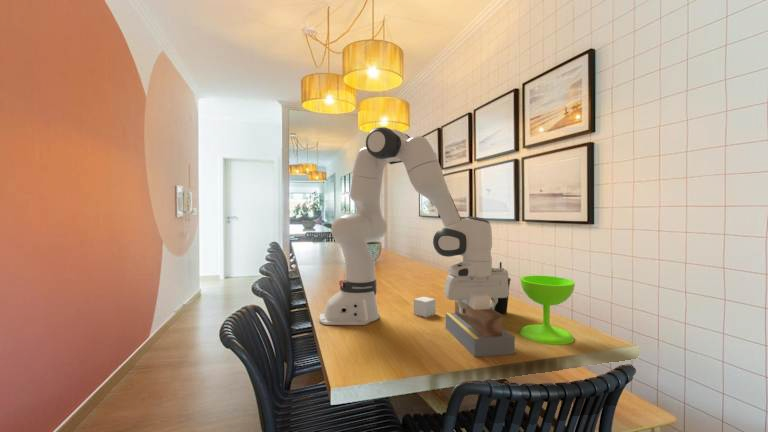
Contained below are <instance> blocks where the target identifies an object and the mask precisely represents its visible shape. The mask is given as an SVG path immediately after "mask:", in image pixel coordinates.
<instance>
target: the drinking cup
mask: <svg viewBox="0 0 768 432" xmlns="http://www.w3.org/2000/svg"><path fill="white" fill-rule="evenodd" d="M499 268H503V266H502V261H500V262H499ZM511 280H512V279H511V278H510V277H508V286H509V287H510V285H511ZM509 295H510V294H509ZM509 295H508V297H507V298H498V302H497V304H496V305H495V307H494V310H495V311H497V312H498V313H500V314H502V315H506V314H507V313H508V305H509V304H508V303H509Z"/></svg>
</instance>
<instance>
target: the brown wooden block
mask: <svg viewBox="0 0 768 432" xmlns="http://www.w3.org/2000/svg"><path fill="white" fill-rule="evenodd" d="M461 305H462V307H464V308H466V313H465V314H461V313H460V312H459V306H458V304H457V303H456V300H454V313H455V314H456V315H457V316H459V317H460V318H461V319H462V320H464V321H465V322H466V323H467V324H469V325H470V326H471V327H472V328H474V329H475V330H476V331H477V332H479V333H480V334H481V335H482V336H484V337H493V336H502V328H503V315H504V314H503V315H502V314H500V313H498V312H497V311H495V310H493V309H492V308H490V309H480V310H474V309H473V308H471V307H470V306H469V305H467V304H466V303H464V302H463V303H461Z"/></svg>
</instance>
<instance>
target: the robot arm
mask: <svg viewBox="0 0 768 432" xmlns="http://www.w3.org/2000/svg"><path fill="white" fill-rule="evenodd" d="M398 163H399V164H400V163H403V164H404V165H403V166H404V167H405V170H406V173H407V176H408V178H409V182H410V183H411V186H413V188H414V190H415V191H416V192H417V193H418V194H419V195H421V196H422V197H425V198H426V199H427V200H429V201H430V202H431V204H433V205H434V207H435V209H436V210H437V213H438V215H439V217H440V219H441V222H442V224H443V226H444V227H442V228H440V229H438V230H437V231H436V232H435V233H434V235H433V239H432V240H433V241H432V246H433V247H434V250H435V252H436V253H437V254H438V255H440V256H443V257H447V258H451V257H455V256H462V262H459V263H456V264H452V265H451V266H448V267H447V272H448V275H447V276H446V279H445V282H444V296H445V297H446V299H448V300H449V301H455V300H456V303H457V304H458V306H459V312H460V313H461V314H465V313H466V308H464V307H462V305H461V303H463V300H465V299H470V298H471V294H482V293H486V294H488V295H490V308H492V309H493V310H494V307H495V305H496V304H497V302H498V298H507V297H508V298H509V296H508V295H510V286H508V278H509V272H508V270H506V269H505V268H503V267H502V268H500V267H499V268H497V267H496V268H495V267H493V259H492V258H493V257H492V247H493V231H492V226H491V223H490V222H489V221H488V220H487V219H485V218H482V217H477V216H466V217H464V219H463V220H462V217H461V216H460V214H459V211H458V209H457V206H456V204H455V202H454V200H453V198H452V195H451V194H450V190H449V187H448V185H447V182H446V179H445V176H444V174H443V170H442V167H441V165H440V162H439V159H438V157H437V155H436V152H435V151H434V149H433V147H432V145H431V144H430V142H429V140H428V139H427V138H426V137H424V136H421V135H415V136H412V137H410V136H409V135H408V134H406V133H405V132H404V133H403V132H401V131H400V130H397V129H392V128H388V127H384V126H379V127H375V128H373V129H371V130H370V131H369V132H368V134H367V136H366V139H365V146H364V147H362V148H360V149H359V150H358V152H357V155H356V157H355V161H354V165H353V169H352V176H351V177H352V178H351V185H350V191H349V195H350V199H351V200H352V201H353V202H354V205H355V210H356V212H355V214H353V213H352V214H351V213H350V214H345V215H341V216H339V217H337V218H335V219H334V221H333V222H332V224H331V235H332V238H333V239H334V241H335V242H336V243H338V245H339V246H340V248H341V250H342V253H343V258H344V261H345V279H344V280H343V279H339V281H338V284H339V286H340V290H339V291H337V292H336V293H335V294H334V295H333V296H331V297H330V298H329V299H328V300H327V301H326V303H325V304H326V305H325V308H324V311H322V312H321V313H320V314H319V316H318V317H319V318H318V320H319V323H321V324H322V325H328V326H330V325H331V326H332V325H333V326H336V325H337V326H366V325H368V324H369V323H371V322H374V321H376V320H379V318H380V314H379V310H378V305H377V304H378V303H377V289H378V288H377V287H378V286H377V280H376V259H375V257H374V256H373V255H371V253H370V251H369V248H368V243H371V242H376V241H377V240H380V239H381V238H384V237H385V235H386V234H387V231H388V227H387V226H388V225H387V222H386V219H384V217H383V215H382V210H381V199H380V198H381V191H382V190H381V189H382V183H383V182H382V181H383V175H384V169H385V167H386V166H387V165H388V164H390V165H394V164H398Z"/></svg>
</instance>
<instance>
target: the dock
mask: <svg viewBox="0 0 768 432" xmlns="http://www.w3.org/2000/svg"><path fill="white" fill-rule="evenodd" d="M445 329H446V330H447V331H448V332H449V333H450V334H451V335H452V336H453V337H454V338H455V339H456V340H457V341H458V342H459V343H460V344H461V345H462V346H463V347H464V348H465V349H466V350H467V351H468V352H469V353H470V354H471V355H472V356H473V357H475V358H478V357H490V356H493V357H494V356H505V355H506V356H507V354H508V355H515V339H516V337H515V336H514V335H513V334H512V333H510V332H509V331H507V330H506V329H504V327H502V336H493V337H484V336H482V335H481V334H480V333H479V332H477V331H476V330H475V329H474V328H472V327H471V326H470V325H469V324H467V323H466V322H465V321H464V320H462V319H461V318H460V317H459V316H457V315H456V314H455V312H445Z"/></svg>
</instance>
